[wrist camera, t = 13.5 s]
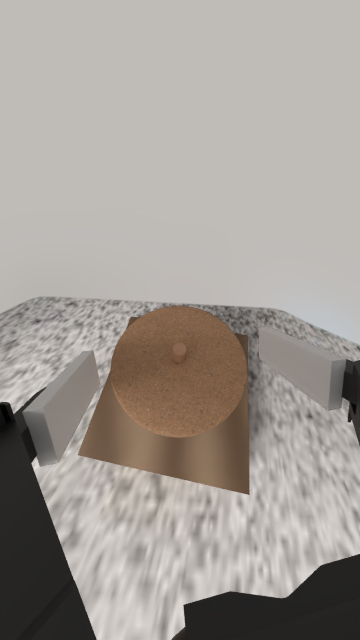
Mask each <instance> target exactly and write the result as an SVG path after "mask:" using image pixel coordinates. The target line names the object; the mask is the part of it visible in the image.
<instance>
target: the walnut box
mask: <svg viewBox="0 0 360 640" xmlns="http://www.w3.org/2000/svg"><path fill="white" fill-rule="evenodd" d="M137 319H139V318H137V317H131V318H130V321H129V323H128V326H127V328H128V327H129V326H130V325H131V324H133V323H134V322H135V321H136V320H137ZM126 330H127V329H126ZM234 334H235V333H234ZM235 336H236V337H237V339H238V340H239V342H240V344H241V346H242V349H243V351H244V355H245V358H246V365H247V380H246V385H245V390H244V392H243V395H242V397H241V400H240V402H239V403H238V405H237V407H236V408H235V410H234V411H233V412H232V413H231V414H230V415H229V417H228V418H227V419H226V420H224V421H223V422H222V423H220V424H219V425H218V426H216V427H215V428H213V429H211V430H209V431H207V432H205V433H202V434H199V435H195V436H191V437H181V438H178V437H167V436H163V435H159V434H156V433H153V432H151V431H149V430H147V429H145V428H143V427H142V426H140V425H139V424H138V423H136V422H135V421H134V420H132V418H131V417H130V416H129V415H128V414H127V413H126V412H125V411H124V410H123V408H122V406H121V405H120V403H119V402H118V400H117V398H116V395H115V393H114V390H113V386H112V381H111V370H110V373H109V375H108V378H107V380H106V383H105V386H104V388H103V391H102V393H101V396H100V399H99V401H98V404H97V406H96V409H95V412H94V414H93V417H92V419H91V422H90V424H89V427H88V430H87V432H86V435H85V437H84V440H83V443H82V445H81V448H80V450H79V453H78V455H80V456H84V457H88V458H93V459H97V460H101V461H106V462H110V463H114V464H119V465H123V466H127V467H132V468H136V469H140V470H145V471H149V472H153V473H158V474H162V475H166V476H171V477H175V478H179V479H183V480H188V481H192V482H196V483H201V484H205V485H209V486H214V487H218V488H222V489H227V490H231V491H235V492H240V493H244V494H248V495H249V414H248V336H247V335H241V334H235Z"/></svg>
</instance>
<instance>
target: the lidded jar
mask: <svg viewBox="0 0 360 640" xmlns="http://www.w3.org/2000/svg"><path fill="white" fill-rule="evenodd" d="M246 380H247V365H246V358H245V355H244V351H243V349H242V346H241V344H240V342H239V340H238V339H237V337H236V336H235V334H234V333H233V332H232V331H231V329H230V328H229V327H228V326H227V325H226V324H225V323H223V322H222V321H221V320H220V319H218V318H217V317H215V316H214V315H212V314H210V313H208V312H205V311H203V310H200V309H197V308H192V307H185V306H172V307H165V308H160V309H157V310H154V311H152V312H149V313H147V314H145V315H144V316H142V317H140V318H139V319H137V320H136V321H135V322H134V323H133V324H131V325H130V326H129V327H128V328H127V330H126V331H125V332H124V333H123V335H122V336H121V338H120V339H119V341H118V343H117V345H116V347H115V350H114V353H113V356H112V362H111V381H112V386H113V390H114V393H115V395H116V398H117V400H118V402H119V403H120V405H121V406H122V408H123V410H124V411H125V412H126V413H127V414H128V415H129V416H130V417H131V418H132V420H134V421H135V422H136V423H138V424H139V425H140V426H142V427H143V428H145V429H147V430H149V431H151V432H153V433H156V434H159V435H163V436H167V437H178V438H181V437H191V436H195V435H199V434H202V433H205V432H207V431H209V430H211V429H213V428H215V427H216V426H218V425H219V424H220V423H222V422H223V421H224V420H226V419H227V418H228V417H229V415H230V414H231V413H232V412H233V411H234V410H235V408H236V407H237V405H238V403H239V402H240V400H241V397H242V395H243V392H244V390H245V385H246Z"/></svg>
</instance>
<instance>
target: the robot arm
mask: <svg viewBox="0 0 360 640" xmlns="http://www.w3.org/2000/svg"><path fill="white" fill-rule="evenodd" d="M259 359H260V360H261V361H263V362H264V363H265V364H267V365H268V366H269V367H271V368H272V369H273V370H275V371H276V372H277V373H279V374H280V375H281V376H283V377H284V378H285V379H287V380H288V381H289V382H291V383H292V384H293V385H295V386H296V387H297V388H299V389H300V390H301V391H303V392H304V393H305V394H307V395H308V396H309V397H311V398H312V399H313V400H315V401H316V402H317V403H318V404H320V405H321V406H322V407H324V408H325V409H326V410H328V411H329V410H334V409H339V408H341V406H342V397H343V398H345V399H346V400H348V401H350V404H349V413H348V422H351V420H352V421H353V424H354V428H355V431H356V435H357V438H358V441H359V445H360V360H358V361H355V362H352V361H350V360H348V359H346V358H343V357H341V356H338V355H336V354H333V353H331V352H329V351H326V350H324V349H321V348H319V347H316V346H314V345H312V344H309V343H307V342H304V341H302V340H299V339H297V338H295V337H292V336H290V335H287V334H285V333H282V332H280V331H278V330H275V329H273V328H270V327H268V326H266V327H259ZM99 385H100V380H99V376H98V371H97V366H96V361H95V357H94V352H93V350H91V351H84V352H82V353H81V354H80V355H79V356H78V357H77V358H76V359H75V360H74V361H73V362H72V363H71V364H70V365H69V366H68V367H67V368H66V369H65V370H64V371H63V372H62V373H61V374H60V375H59V376H58V377H57V378H56V379H55V380H54V381H53V382H52V383H51V384H50V385H49V386H48V387H45V388H43V389H42V390H40V391H39V392H37V393H36V394H35V395H33V396H32V397H31V398H30V399H29V401H27V402H26V403H25V404H24V406H22V407H21V408H20V409H19V410H18V411H17V412H16V413H15V414H14V415H13V412H12V409H11V406H10V403H8V402H0V640H96V637H95V634H94V631H93V629H92V626H91V623H90V621H89V618H88V615H87V612H86V610H85V607H84V604H83V602H82V599H81V596H80V594H79V591H78V588H77V586H76V583H75V581H74V579H73V576H72V574H71V571H70V568H69V566H68V563H67V560H66V557H65V555H64V552H63V549H62V546H61V544H60V541H59V538H58V535H57V533H56V530H55V527H54V525H53V522H52V519H51V516H50V514H49V511H48V508H47V505H46V503H45V500H44V497H43V494H42V492H41V489H40V486H39V483H38V481H37V478H36V475H35V473H34V470H33V467H32V464H31V463H32V461H33V460H34V458H35V457H36V456H37V459H38V462H39V465H40V466H46V465H51V464H56V463H59V461H60V459H61V457H62V455H63V454H64V452H65V450H66V448H67V446H68V444H69V442H70V440H71V438H72V436H73V434H74V433H75V431H76V429H77V427H78V425H79V423H80V421H81V419H82V417H83V415H84V413H85V411H86V410H87V408H88V406H89V404H90V402H91V400H92V398H93V396H94V394H95V392H96V390H97V389H98V387H99ZM184 616H185V627H184V628H183V629H182V630H181V631H180V632H179V633H177V634H176V635H175V636H174V637H173V638H172V640H360V554H358V555H355V556H351V557H348V558H344V559H341V560H338V561H334V562H331V563H327V564H324V565H321V566H320V567H319V568H318V569H317V570H315V571H314V572H313V573H312V574H311V575H310V576H309V577H308V578H307V579H306V580H305V581H304V582H303V583H302V584H301V585H300V586H299V587H298V588H297V589H296V590H295V591H294V592H293V593H291V594H290V595H289V596H288V597H286V598H274V597H267V596H260V595H253V594H246V593H239V592H231V591H230V592H227V593H223V594H220V595H216V596H213V597H209V598H206V599H202V600H199V601H195V602H192V603H188V604H185V605H184Z"/></svg>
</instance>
